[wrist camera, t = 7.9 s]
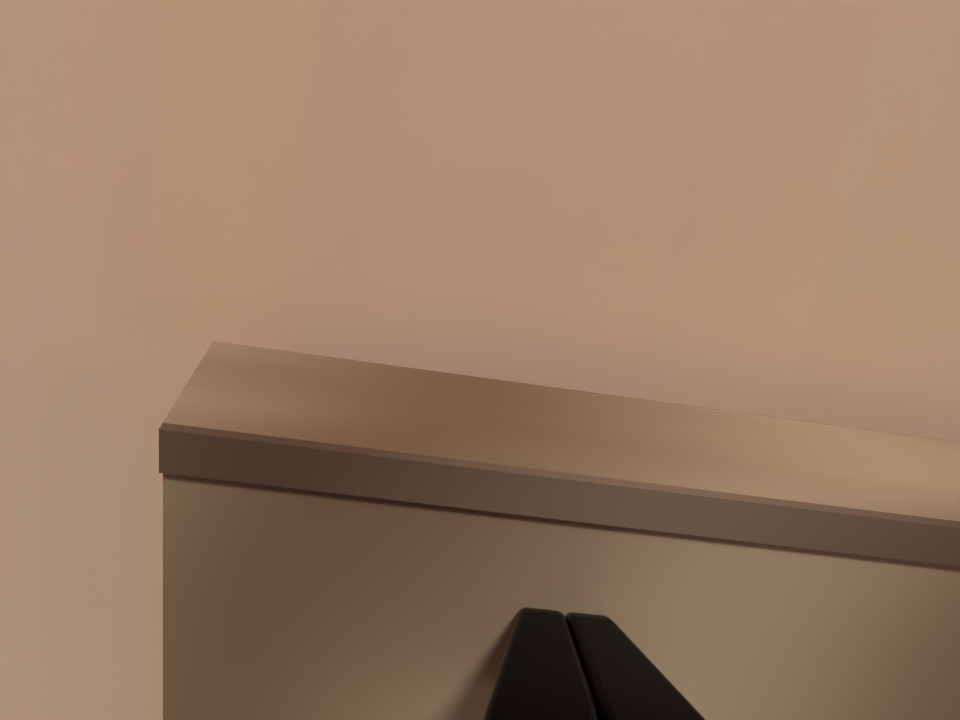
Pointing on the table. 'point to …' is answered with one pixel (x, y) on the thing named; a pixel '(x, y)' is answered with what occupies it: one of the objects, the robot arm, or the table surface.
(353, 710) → the plank
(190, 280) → the table surface
